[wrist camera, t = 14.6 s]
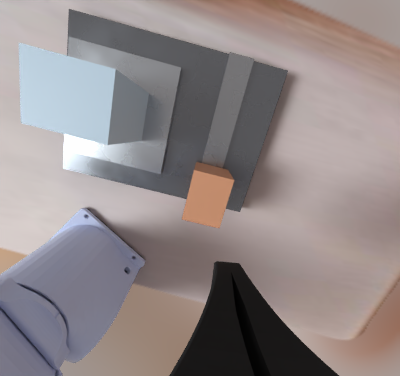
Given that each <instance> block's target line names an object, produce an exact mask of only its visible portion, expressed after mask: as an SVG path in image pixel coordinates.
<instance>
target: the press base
mask: <svg viewBox="0 0 400 376" xmlns="http://www.w3.org/2000/svg"><path fill="white" fill-rule="evenodd" d="M67 56H70V57H73V58H77V59H81V60H84V61H88V62H92V63H95V64H99V65H103V66H106V67H110V68H114V69H116V70H118V71H119V72H120V73H122V74H123V75H125V76H126V77H127V78H129V79H130V80H132V81H133V82H134V83H136V84H137V85H139V86H140V87H141V88H143V89H144V90H146V91H147V92H148V93H149V96H148V103H147V109H146V116H145V122H144V128H143V135H142V141H137V142H129V143H121V144H112V145H105V144H101V143H98V142H94V141H90V140H86V139H82V138H78V137H74V136H70V135H66V134H64V155H63V169H67V170H71V171H75V172H79V173H83V174H87V175H91V176H95V177H99V178H104V179H108V180H112V181H116V182H120V183H124V184H128V185H132V186H136V187H140V188H144V189H148V190H152V191H157V192H161V193H165V194H169V195H173V196H177V197H181V198H185V199H187V196H188V192H189V188H190V184H191V180H192V176H193V172H194V168H195V165H196V162H200V163H203V164H207V165H211V166H215V167H219V168H223V169H227V170H228V171H229V172H230V174H231V176H232V177H233V179H234V183H233V186H232V189H231V193H230V196H229V199H228V202H227V205H226V209H230V210H234V211H238V212H240V210H241V207H242V204H243V201H244V198H245V196H246V193H247V190H248V187H249V184H250V181H251V178H252V175H253V172H254V169H255V166H256V163H257V160H258V157H259V154H260V152H261V149H262V146H263V143H264V140H265V137H266V134H267V131H268V128H269V125H270V122H271V119H272V116H273V113H274V111H275V108H276V105H277V102H278V99H279V96H280V93H281V90H282V87H283V84H284V81H285V78H286V75H287V72H288V71H287V70H283V69H280V68H276V67H273V66H269V65H266V64H262V63H258V62H255V61H254V59H252V58H249V57H245V56H242V55H238V54H235V53H231V52H230V54H227V53H223V52H220V51H216V50H213V49H209V48H205V47H202V46H198V45H195V44H191V43H188V42H184V41H181V40H177V39H174V38H170V37H167V36H163V35H160V34H156V33H152V32H149V31H145V30H142V29H138V28H135V27H131V26H128V25H124V24H121V23H117V22H114V21H110V20H107V19H103V18H100V17H96V16H92V15H89V14H85V13H82V12H78V11H75V10H71V9H69V20H68V47H67Z"/></svg>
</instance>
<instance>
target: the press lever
mask: <svg viewBox="0 0 400 376" xmlns="http://www.w3.org/2000/svg"><path fill="white" fill-rule="evenodd" d="M233 183H234V179H233V177H232V176H231V174H230V172H229V171H228V170H227V169H223V168H219V167H215V166H211V165H207V164H203V163H200V162H196V165H195V168H194V172H193V176H192V180H191V184H190V188H189V192H188V196H187V200H186V204H185V209H184V213H183V217H182V220H187V221H191V222H195V223H199V224H203V225H207V226H212V227H216V228H220V224H221V221H222V218H223V215H224V212H225V209H226V205H227V202H228V199H229V196H230V193H231V189H232V186H233Z"/></svg>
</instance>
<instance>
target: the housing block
mask: <svg viewBox="0 0 400 376" xmlns="http://www.w3.org/2000/svg"><path fill="white" fill-rule="evenodd" d="M19 70H20V108H21V123H23V124H27V125H31V126H35V127H39V128H43V129H47V130H50V131H54V132H58V133H62V134H66V135H70V136H74V137H78V138H82V139H86V140H90V141H94V142H98V143H101V144H105V145H112V144H121V143H129V142H137V141H142V135H143V128H144V122H145V116H146V109H147V103H148V96H149V93H148V92H147V91H146V90H144V89H143V88H141V87H140V86H139V85H137V84H136V83H134V82H133V81H132V80H130V79H129V78H127V77H126V76H125V75H123V74H122V73H120V72H119V71H118V70H116V69H114V68H110V67H106V66H103V65H99V64H95V63H92V62H88V61H84V60H81V59H77V58H73V57H70V56H66V55H62V54H59V53H55V52H51V51H48V50H44V49H40V48H37V47H33V46H29V45H26V44H22V43H19Z"/></svg>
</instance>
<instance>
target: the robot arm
mask: <svg viewBox="0 0 400 376" xmlns="http://www.w3.org/2000/svg"><path fill="white" fill-rule="evenodd" d="M86 214H87V215H88V216H89V217H87V216H86ZM133 256H135V257H136V258H134V257H133ZM144 264H145V260H144V259H143V258H142V257H141V256H139V255H138V254H137V253H136V252H135V251H134V250H133V249H132V248H130V247H129V246H128V245H127V244H126V243H125V242H124V241H123V240H121V239H120V238H119V237H118V236H117V235H116V234H115V233H114V232H112V231H111V230H110V229H109V228H108V227H107V226H106V225H105V224H103V223H102V222H101V221H100V220H99V219H98V218H97V217H96V216H94V215H93V214H92V213H91V212H90V211H89V210H88V209H86V208H82V209H80V210H79V211H78V212H77V213H76V214H75V215H74V216H73V217H72V218H71V219H70V220H69V221H68V222H67V223H66V224H65V225H64V226H63V227H62V228H61V229H60V230H59V231H58V232H57V233H56V234H55V235H54V236H53V237H52V238H51V239H50V240H49V241H48V242H47V243H45V244H44V245H42V246H41V247H40V248H38V249H37V250H35V251H34V252H32V253H31V254H29V255H28V256H26V257H25V258H24V259H22V260H21V261H19V262H18V263H17V264H15V265H13V266H12V267H11V268H9V269H8V270H6V271H5V272H3V273H2V274H0V376H63V375H62V373H61V371H60V369H59V368H60V367H61V365H62V363H63V362H64V360H66V361H69V362H72V363H76V362H78V361H80V360H81V359H82V358H84V357H85V356H86V355H87V354H88V353H89V352H90V351H91V350H92V349H93V348H94V347H95V346H96V344H97V343H98V342H99V341H100V339H101V338H102V337H103V336H104V334H105V333H106V332H107V330H108V329H109V327H110V326H111V324H112V323H113V321H114V319H115V318H116V316H117V314H118V312H119V310H120V308H121V306H122V304H123V302H124V300H125V298H126V296H127V294H128V292H129V290H130V287H131V286H132V284H133V282H134V280H135V277H136V275H137V273H138V271H139V269H140V268H141V267H143V266H144ZM170 376H339V375H338V374H337V373H335V372H334V371H333V370H332V369H331V368H330V367H329V366H327V365H326V364H325V363H324V362H323V361H322V360H321V359H320V358H319V357H317V356H316V355H315V354H314V353H313V352H312V351H311V350H310V349H309V348H308V347H307V346H306V345H305V344H304V343H303V342H302V341H301V340H300V339H299V338H298V337H297V336H296V335H295V334H294V333H293V332H292V331H291V330H290V329H289V328H288V327H287V326H286V324H285V323H284V322H283V321H282V320H281V319H280V318H279V317H278V315H277V314H276V313H275V312H274V311H273V309H272V308H271V307H270V306H269V305H268V303H267V302H266V301H265V299H264V298H263V297H262V295H261V294H260V293H259V291H258V290H257V289H256V287H255V286H254V285H253V283H252V282H251V280H250V279H249V277H248V276H247V274H246V273H245V271H244V270H243V268H242V267H241V265H240V264H239V263H229V262H218V261H217V262H215V263H214V270H213V278H212V285H211V290H210V294H209V296H208V299H207V302H206V305H205V308H204V310H203V313H202V315H201V318H200V320H199V322H198V324H197V326H196V328H195V331H194V333H193V335H192V337H191V339H190V341H189V342H188V345H187V346H186V348H185V350H184V352H183V354H182V355H181V357H180V359H179V360H178V362H177V364H176V366H175V367H174V369H173V371H172V372H171V374H170Z"/></svg>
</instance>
